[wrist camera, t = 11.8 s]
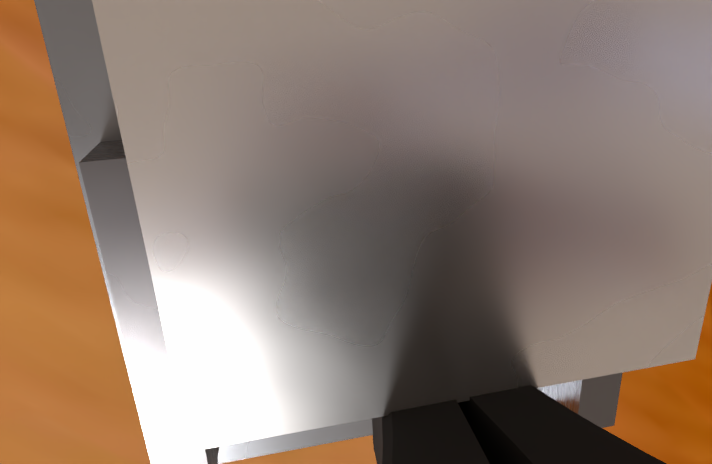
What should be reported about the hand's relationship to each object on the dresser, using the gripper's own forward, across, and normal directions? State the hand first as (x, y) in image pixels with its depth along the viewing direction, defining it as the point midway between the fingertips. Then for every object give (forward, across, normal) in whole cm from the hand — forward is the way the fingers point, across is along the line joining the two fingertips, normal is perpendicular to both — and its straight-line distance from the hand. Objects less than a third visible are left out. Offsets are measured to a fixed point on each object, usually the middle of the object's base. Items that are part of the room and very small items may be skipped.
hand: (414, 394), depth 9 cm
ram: (+1, 0, -4) cm, 5 cm away
